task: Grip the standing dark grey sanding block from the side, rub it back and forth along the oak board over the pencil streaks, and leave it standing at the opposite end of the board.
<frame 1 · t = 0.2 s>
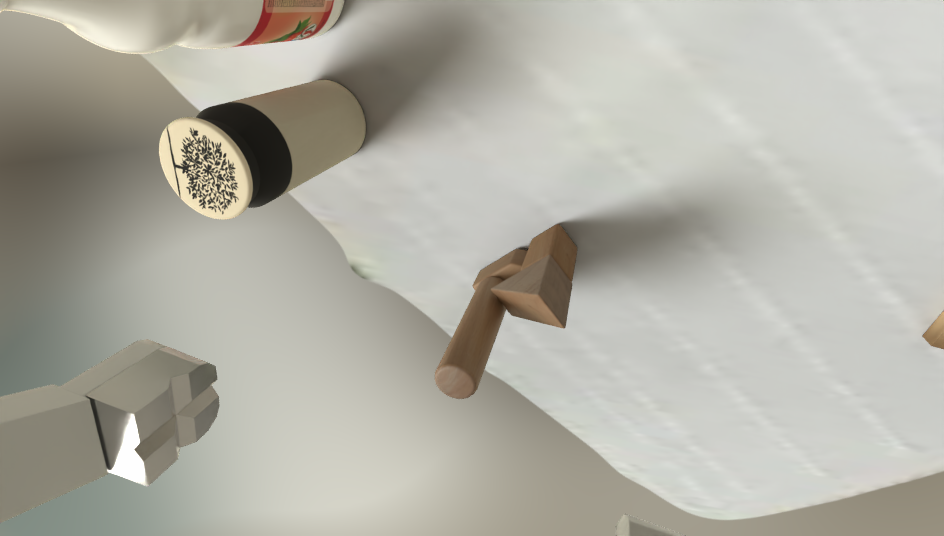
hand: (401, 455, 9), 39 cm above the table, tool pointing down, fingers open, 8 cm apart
travel mug: (333, 119, 49), on the table
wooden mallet: (527, 258, 51), on the table
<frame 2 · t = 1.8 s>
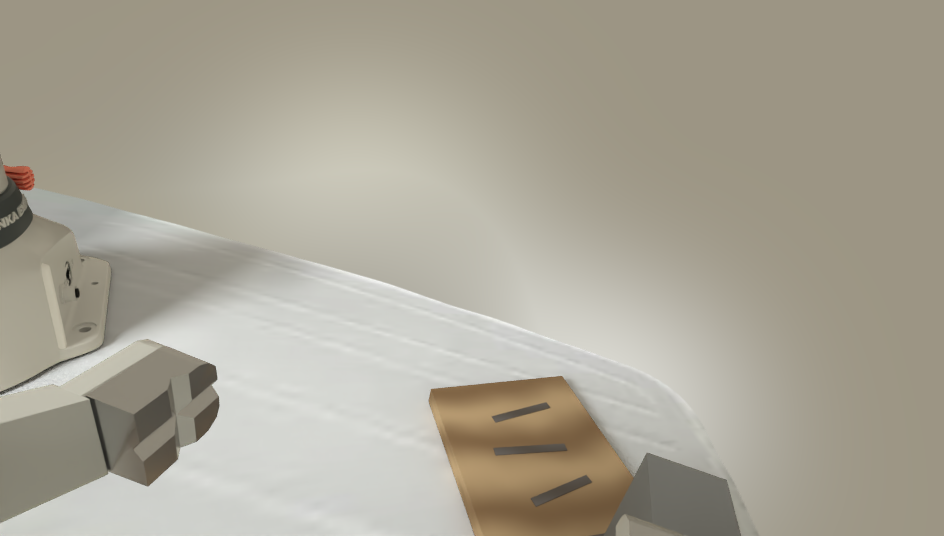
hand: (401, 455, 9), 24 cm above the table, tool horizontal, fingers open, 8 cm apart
oak board: (559, 515, 36), on the table
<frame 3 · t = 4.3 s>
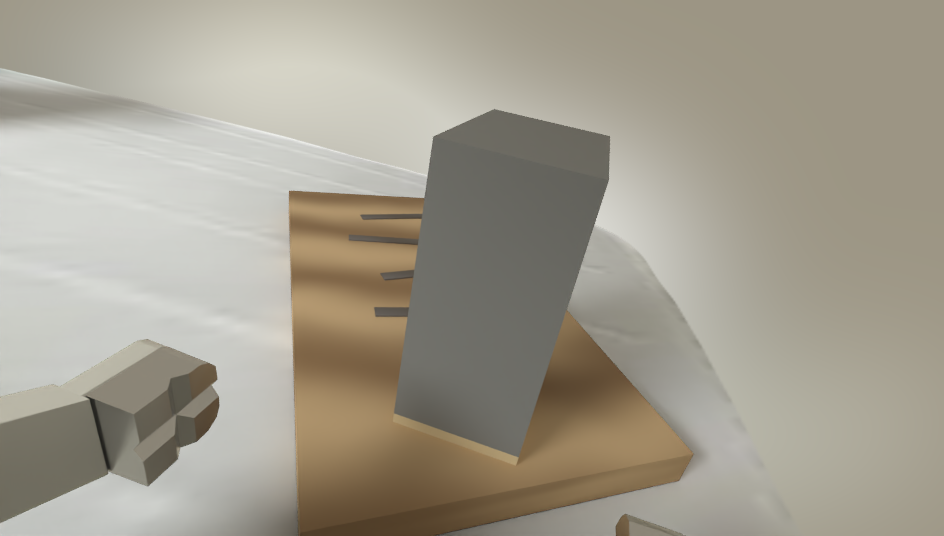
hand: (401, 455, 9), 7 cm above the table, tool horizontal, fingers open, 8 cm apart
sanding block: (478, 381, 19), point 1 cm above the table, touching oak board
oak board: (425, 304, 26), on the table
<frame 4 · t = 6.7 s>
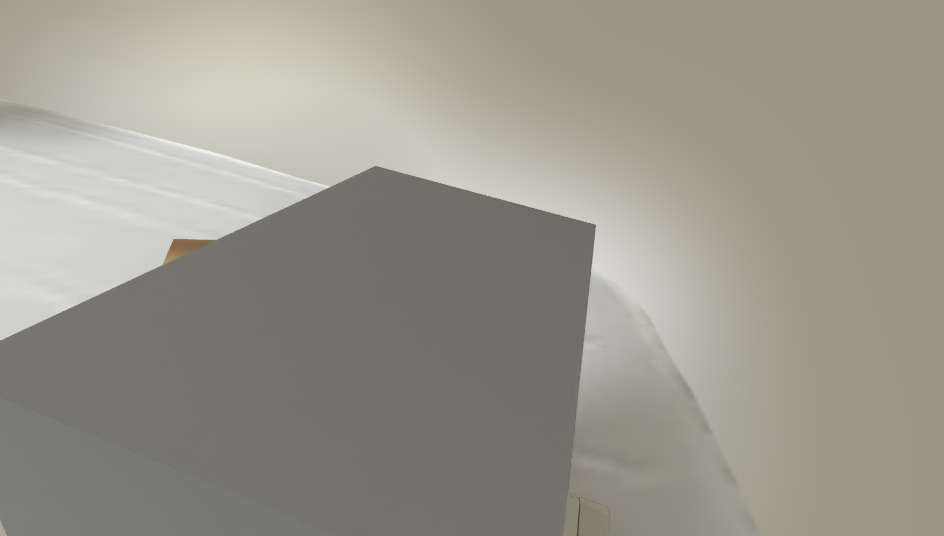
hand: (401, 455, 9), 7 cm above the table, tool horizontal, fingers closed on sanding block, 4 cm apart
oak board: (328, 429, 18), on the table
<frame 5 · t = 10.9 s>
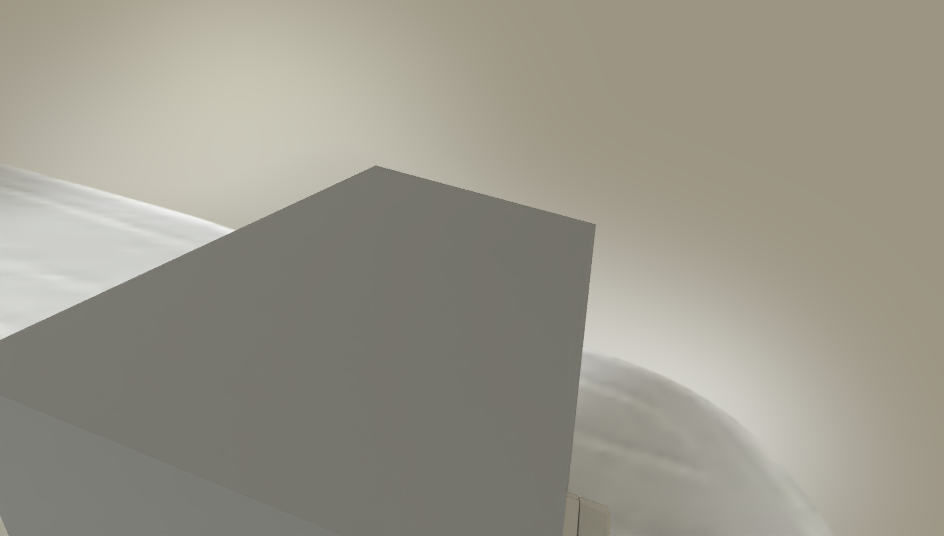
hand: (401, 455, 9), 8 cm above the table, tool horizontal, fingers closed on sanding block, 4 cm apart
when the fingers open (8 cm above the table, at t = 15.4 s): sanding block drops 1 cm, resting on oak board.
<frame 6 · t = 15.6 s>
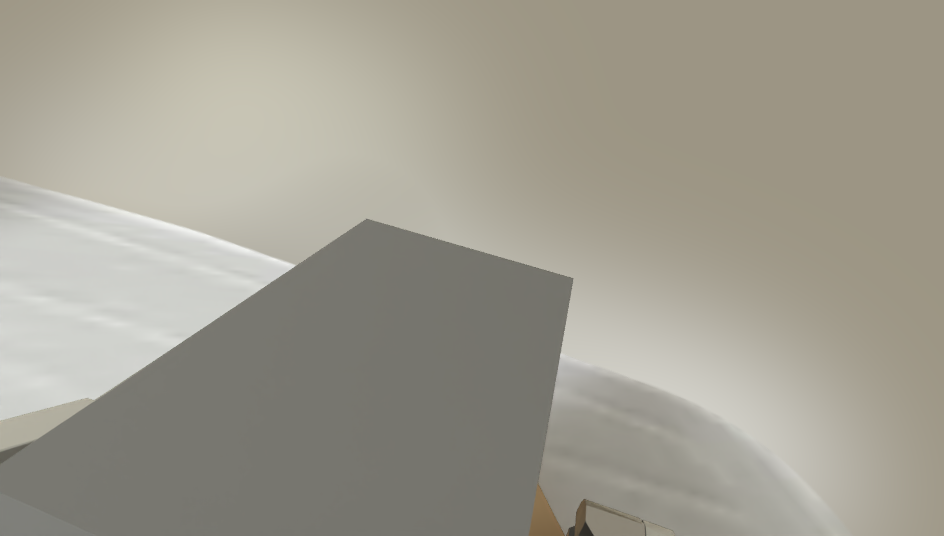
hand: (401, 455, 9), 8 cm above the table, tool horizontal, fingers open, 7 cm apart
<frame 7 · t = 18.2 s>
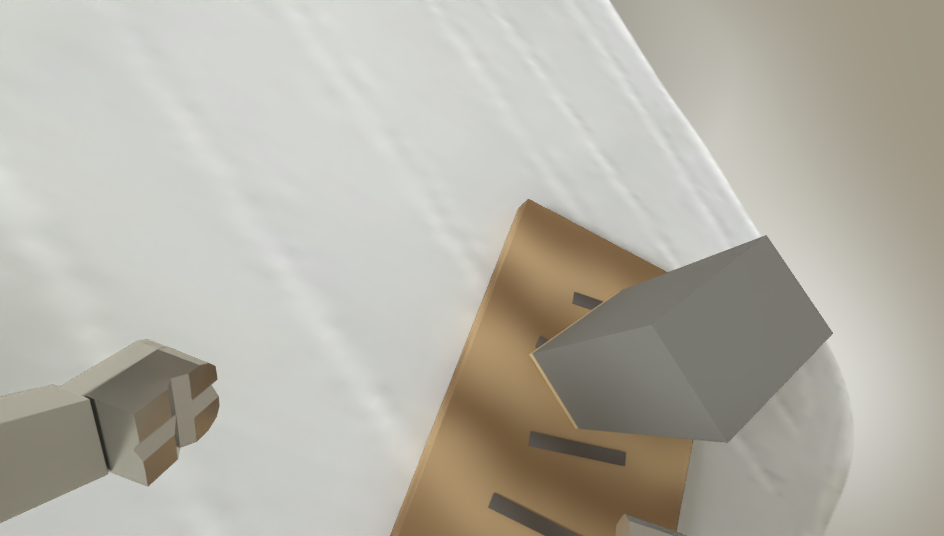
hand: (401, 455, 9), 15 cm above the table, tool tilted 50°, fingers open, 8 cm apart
sanding block: (597, 355, 26), point 2 cm above the table, touching oak board
oak board: (554, 463, 25), on the table
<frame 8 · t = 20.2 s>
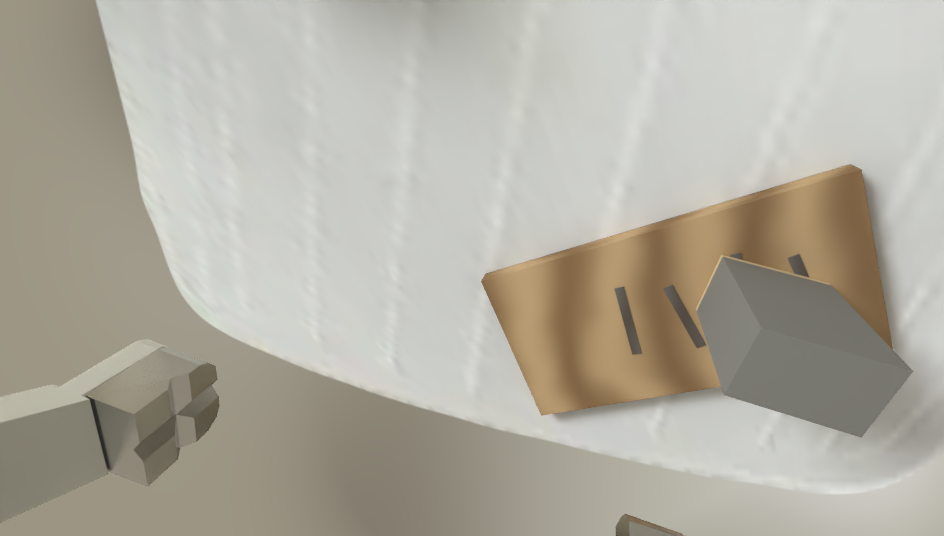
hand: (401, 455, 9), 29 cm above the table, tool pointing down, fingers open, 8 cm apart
sanding block: (759, 296, 33), point 2 cm above the table, touching oak board
oak board: (667, 307, 37), on the table
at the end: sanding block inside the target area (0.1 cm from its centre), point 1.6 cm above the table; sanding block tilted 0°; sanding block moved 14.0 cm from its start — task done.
